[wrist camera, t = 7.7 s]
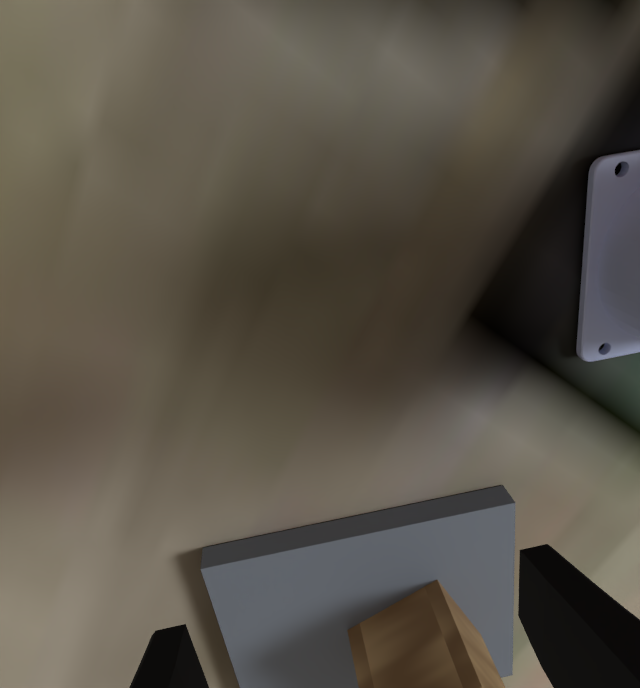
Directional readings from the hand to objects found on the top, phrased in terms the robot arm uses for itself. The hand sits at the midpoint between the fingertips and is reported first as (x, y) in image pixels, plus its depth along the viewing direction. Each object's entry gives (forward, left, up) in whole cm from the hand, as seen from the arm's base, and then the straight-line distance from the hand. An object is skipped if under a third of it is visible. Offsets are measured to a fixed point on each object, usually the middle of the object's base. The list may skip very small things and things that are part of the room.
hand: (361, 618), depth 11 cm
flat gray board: (-1, +13, -10) cm, 17 cm away
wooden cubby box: (-3, +14, -9) cm, 17 cm away
